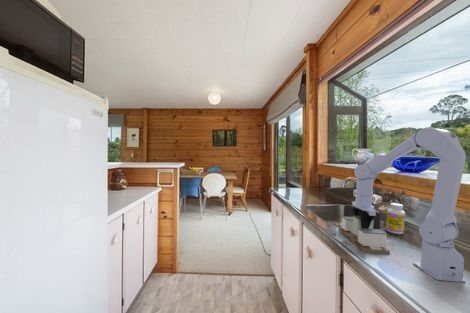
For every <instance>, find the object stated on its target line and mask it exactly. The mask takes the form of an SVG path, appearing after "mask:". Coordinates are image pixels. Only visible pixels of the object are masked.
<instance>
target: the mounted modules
mask: <svg viewBox="0 0 470 313" xmlns="http://www.w3.org/2000/svg"><path fill="white" fill-rule="evenodd" d="M352 226H353V217H346V216H344V215H343V216H341V228H343V229H344V230H345V231H353V230H352ZM358 229H359V230H358V242H359V243H361V244H362V245H363V246H376V247H385V248H387V237H388V236H387V235H388V233H387V232H385V231H384V230H382V229H381V228H380V229H364V228H358Z"/></svg>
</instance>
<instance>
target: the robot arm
mask: <svg viewBox="0 0 470 313" xmlns="http://www.w3.org/2000/svg"><path fill="white" fill-rule="evenodd" d="M424 149H426V150H427V151H429V152H431V153H432V154H433V155H434V156H436V158H438V159H439V160H440V161H439V165H438V171H437V175H436V176H437V177H436V180H435V186H434V191H433V196H432V201H431V206H430V210H429V211H428V212H427V214H426V215H425V217H424V221H423V222H422V223H421V224H420V226H419V228H418V232H419V236H420V237H421V238H422V241H421V251H420V252H421V255H420V262H419V261H413V265H415V266H416V267H417V268H419V269H421V270H422V271H424V272H425V273H426V274H428V275H429V276H431V277H432V278H434V280H438V281H445V282H446V281H447V282H448V281H450V282H457V283H459V282H462V283H466V282H467V280H466V279H465V278H464V268H465V259H464V256H463V255H462V254H461V253H460V252H458V251H457V249H456V248H455V242H454V240H456V239H457V237H458V236H459V234H460V233H459V232H460V231H459V228H458V226H457V221H458V219H457V217H456V215H455V211H456V206H457V202H458V201H457V200H458V196H459V193H460V187H461V182H462V178H463V172H464V170H465V164H466V158H467V153H466V152H465V150H464V148H463V147H462V145H461V143H460V141H459V136H457V135H456V134H455V133H453V132H452V131H450V130H448V129H443V128H441V129H440V128H435V127H431V126H427V127H424V128H421V129H420V130H418V131H417V132H415V133H413V134H411V135H410V136H409V137H408V138H406V140H404V141H402V142H401V143H399V144H398V145H397V146H395V147H394V148H393V149H392V150H390V151H389V152H387V153H376V154H375V155H374V157H373V158H371V159H370V160H368V161H365V162H364V164H358V165H357V166H356V167H355V168H354V170H353V171H354V172H353V173H354V176H355V178H356V186H355V187H356V188H355V200H354V201H353V200H352V203H351V205H352V206H355V208H351V210H352V212H353V214H354V216H360V219H361V228H364V229H369V226H370V224H371V222H372V220H373V219H374V217H375V216H376V211H377V210H376V209H375V206H374V205H373V204H372V203H373V188H374V182H375V179H376V178H377V176H378V175H379V174H380V173H382V172H384V171H385V170H388V169H389V168H391V167H392V166H393V163H394V161H396V160H397V159H400V158H402V157H404V156H406V155H408V154H410V153H411V152H414V151H415V150H424ZM375 210H376V211H375Z"/></svg>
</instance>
